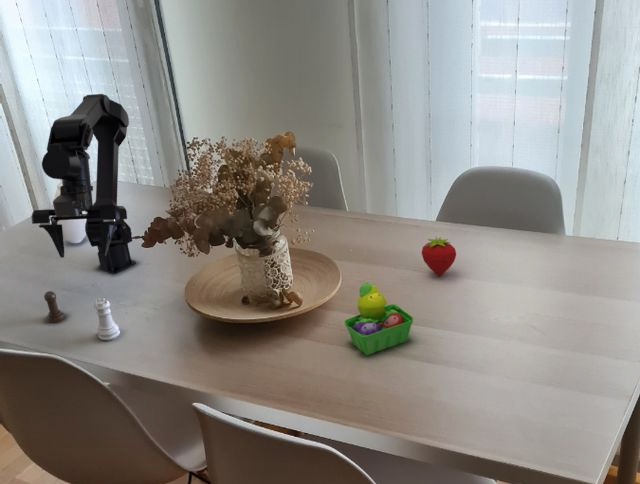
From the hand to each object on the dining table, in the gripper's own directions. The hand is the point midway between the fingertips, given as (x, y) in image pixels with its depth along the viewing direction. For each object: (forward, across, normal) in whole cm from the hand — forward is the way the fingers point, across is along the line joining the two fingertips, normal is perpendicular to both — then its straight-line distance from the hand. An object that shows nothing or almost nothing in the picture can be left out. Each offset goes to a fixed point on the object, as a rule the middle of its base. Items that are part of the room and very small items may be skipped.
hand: (83, 256), depth 182 cm
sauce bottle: (-2, -15, +36) cm, 39 cm away
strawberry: (+8, +74, +9) cm, 76 cm away
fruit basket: (+18, +62, -15) cm, 66 cm away
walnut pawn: (+13, -7, -2) cm, 14 cm away
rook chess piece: (+16, +7, -9) cm, 20 cm away
